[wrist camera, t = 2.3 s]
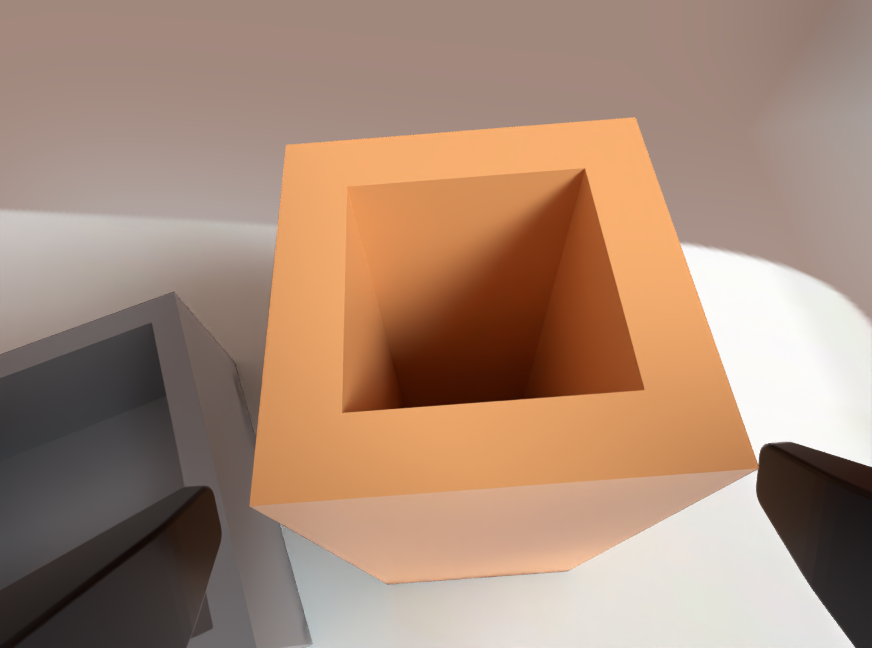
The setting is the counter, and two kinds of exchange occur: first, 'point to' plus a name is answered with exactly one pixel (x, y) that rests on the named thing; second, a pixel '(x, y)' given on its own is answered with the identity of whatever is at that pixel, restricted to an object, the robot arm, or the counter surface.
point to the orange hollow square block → (485, 354)
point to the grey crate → (141, 459)
